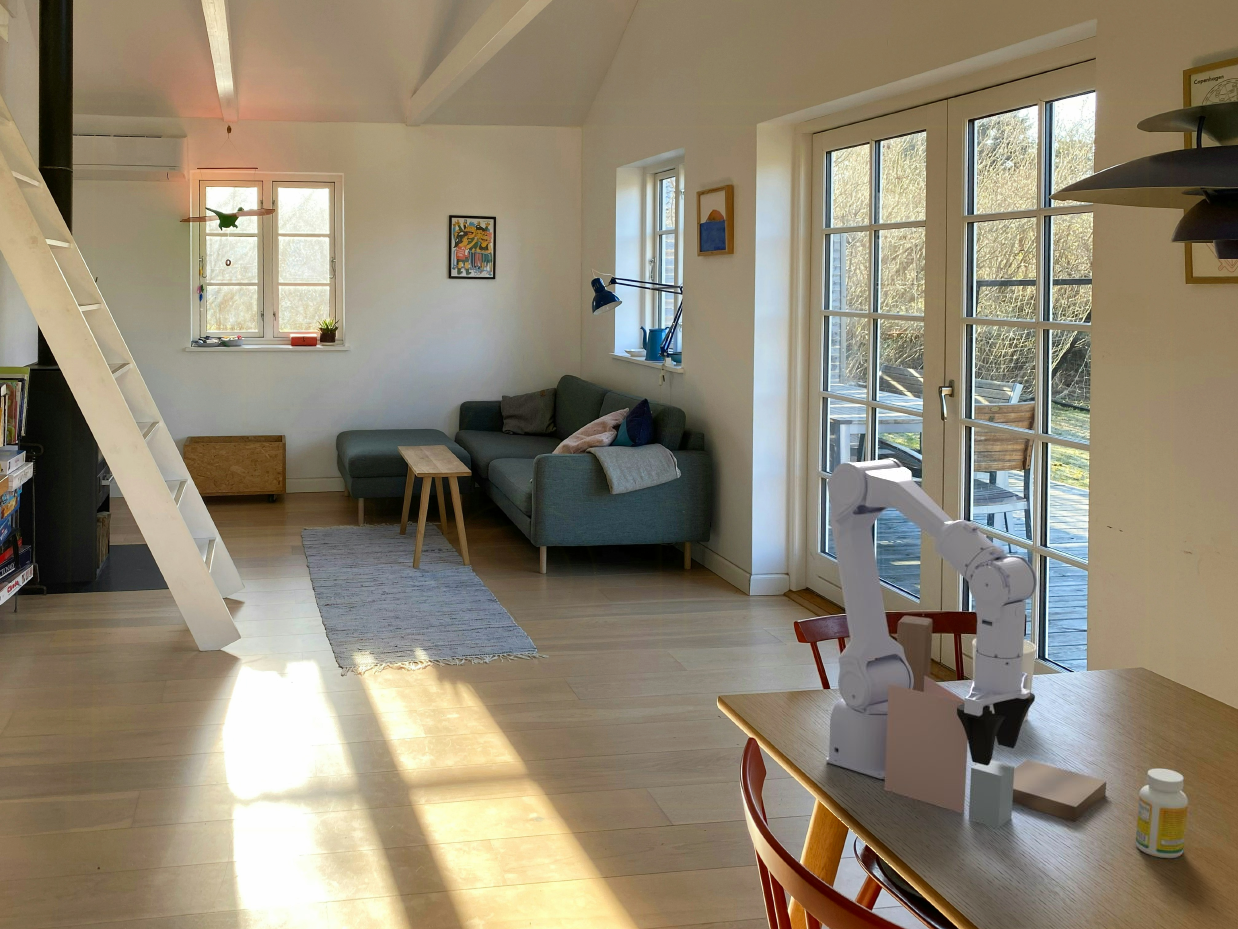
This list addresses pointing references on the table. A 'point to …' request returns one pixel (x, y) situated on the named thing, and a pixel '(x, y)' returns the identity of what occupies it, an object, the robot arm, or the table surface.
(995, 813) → the slate block
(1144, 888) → the table surface
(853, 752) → the robot arm
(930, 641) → the wooden block
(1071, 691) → the table surface
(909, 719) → the greeting card
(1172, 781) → the supplement bottle
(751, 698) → the table surface
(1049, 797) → the walnut base
